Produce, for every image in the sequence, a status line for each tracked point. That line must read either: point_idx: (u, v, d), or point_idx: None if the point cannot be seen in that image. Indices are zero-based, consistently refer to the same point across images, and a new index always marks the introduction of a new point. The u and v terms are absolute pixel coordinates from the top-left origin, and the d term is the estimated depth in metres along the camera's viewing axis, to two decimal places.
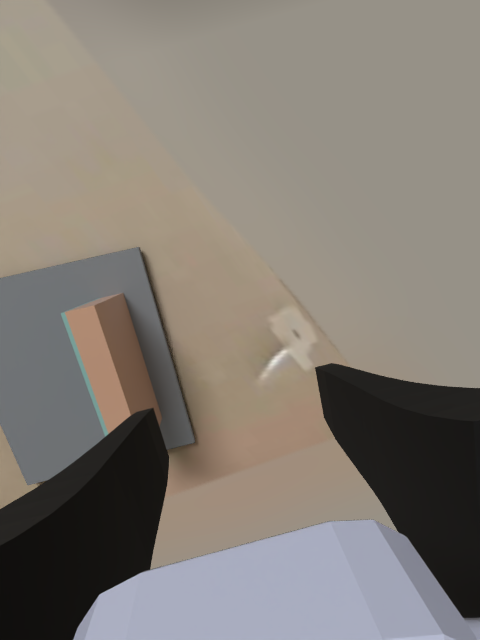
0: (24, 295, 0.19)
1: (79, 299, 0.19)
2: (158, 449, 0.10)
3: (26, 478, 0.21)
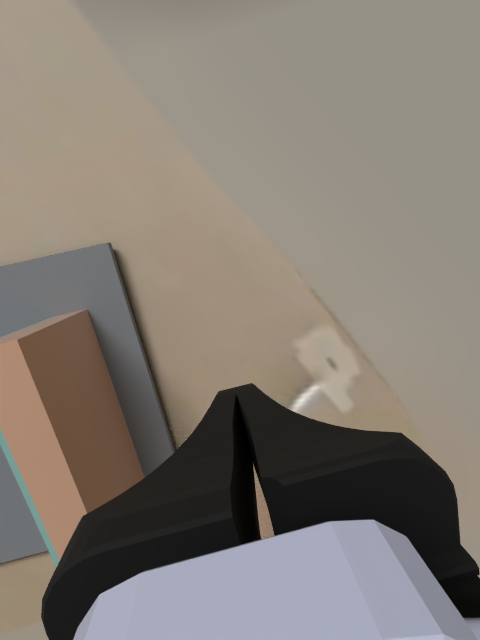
0: None
1: (23, 319, 0.13)
2: (244, 427, 0.10)
3: None
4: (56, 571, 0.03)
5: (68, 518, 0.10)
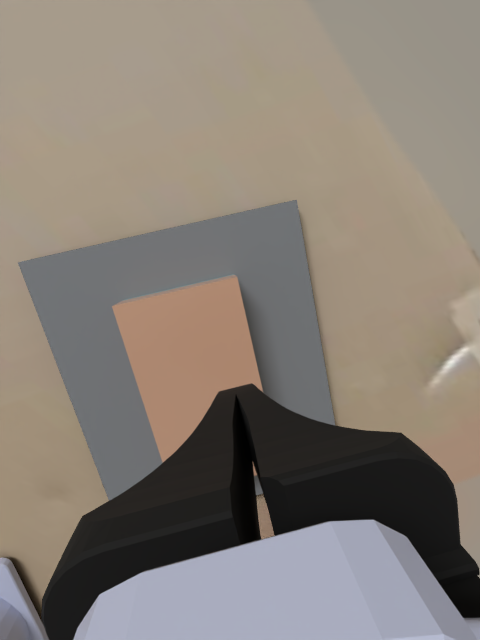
0: (134, 269, 0.13)
1: (209, 275, 0.14)
2: (244, 427, 0.10)
3: None
4: (56, 571, 0.03)
5: None
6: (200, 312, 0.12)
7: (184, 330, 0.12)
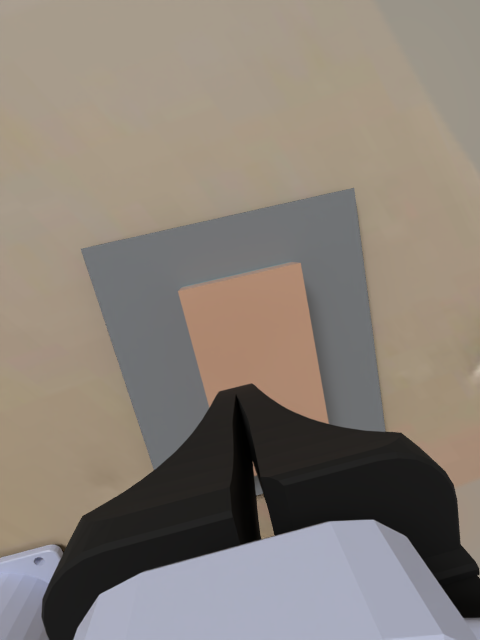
0: (193, 256, 0.13)
1: (266, 263, 0.14)
2: (244, 427, 0.10)
3: None
4: (56, 571, 0.03)
5: None
6: (263, 298, 0.12)
7: (247, 316, 0.13)
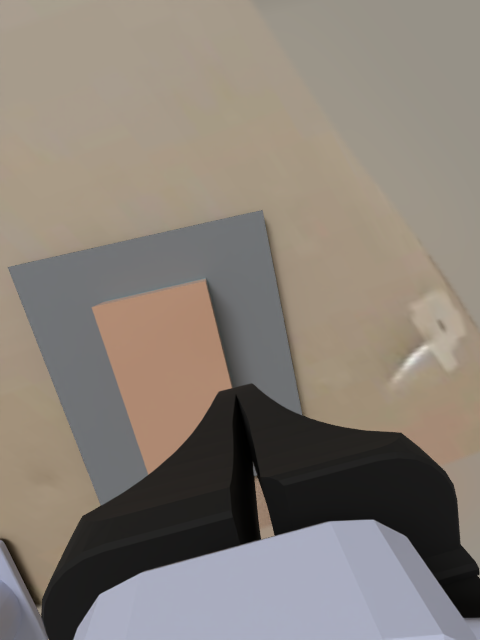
0: (114, 273, 0.15)
1: (183, 279, 0.15)
2: (244, 427, 0.10)
3: None
4: (56, 571, 0.03)
5: None
6: (172, 313, 0.14)
7: (158, 329, 0.14)
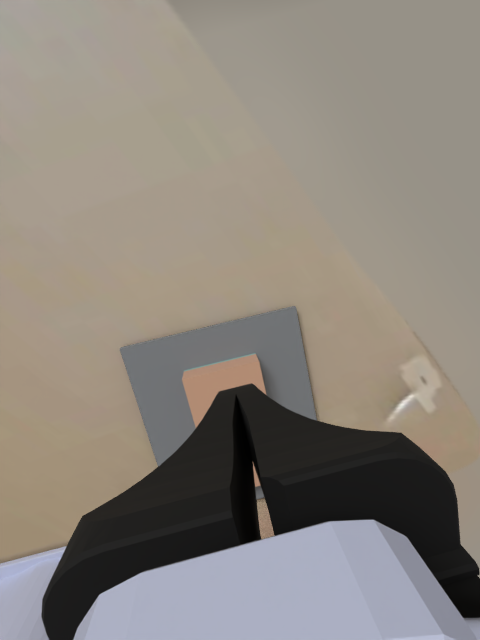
0: (191, 351, 0.21)
1: (239, 354, 0.21)
2: (244, 427, 0.10)
3: None
4: (56, 571, 0.03)
5: None
6: (235, 382, 0.20)
7: None
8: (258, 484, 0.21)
